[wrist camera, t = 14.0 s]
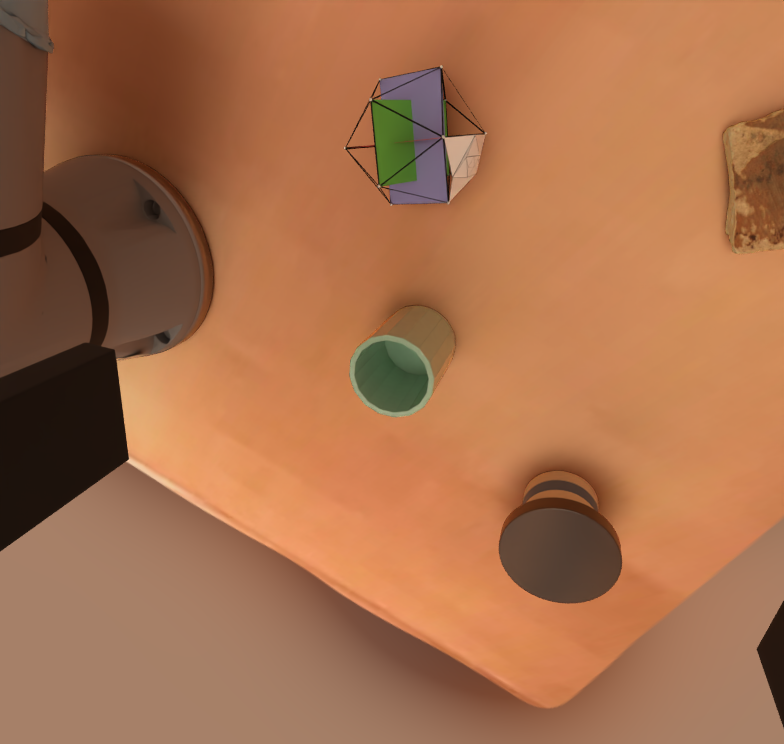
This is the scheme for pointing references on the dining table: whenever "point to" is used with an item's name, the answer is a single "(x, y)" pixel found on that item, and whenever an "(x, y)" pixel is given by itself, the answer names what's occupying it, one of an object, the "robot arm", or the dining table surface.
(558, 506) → the walnut chip
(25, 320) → the robot arm
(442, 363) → the plastic cup
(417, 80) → the geometric puzzle
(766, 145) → the shard
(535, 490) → the chip stack
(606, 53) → the dining table surface
